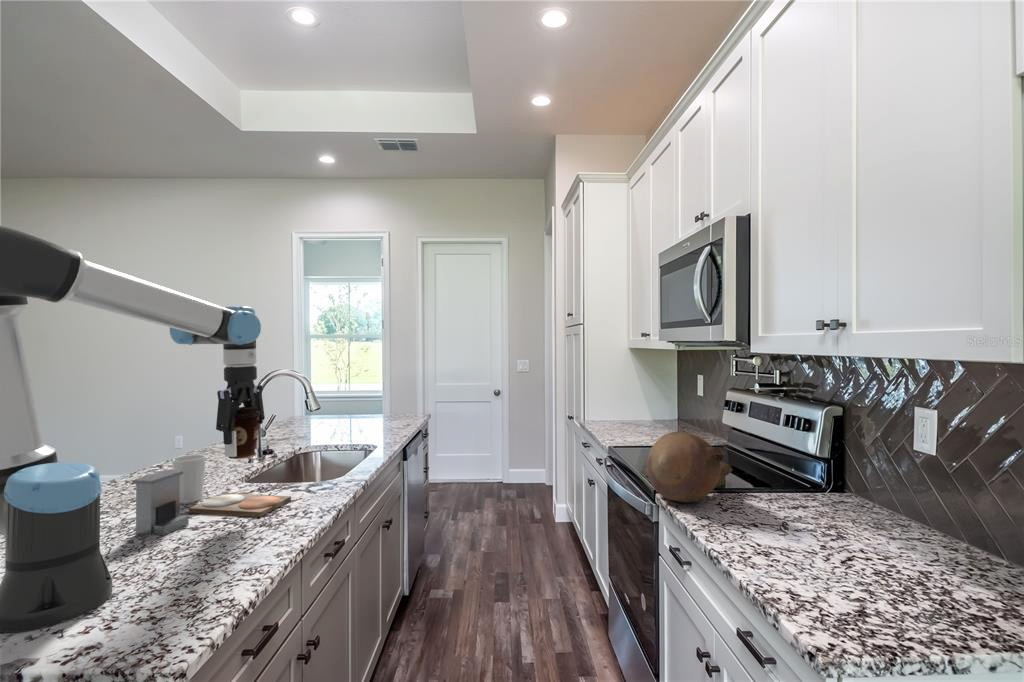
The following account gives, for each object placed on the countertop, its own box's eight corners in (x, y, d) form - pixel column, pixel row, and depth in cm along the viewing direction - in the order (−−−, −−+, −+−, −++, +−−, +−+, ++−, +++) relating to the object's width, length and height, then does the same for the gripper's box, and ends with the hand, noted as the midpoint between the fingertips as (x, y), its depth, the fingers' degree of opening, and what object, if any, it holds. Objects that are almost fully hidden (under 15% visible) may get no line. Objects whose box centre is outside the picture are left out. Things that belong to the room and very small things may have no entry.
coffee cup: (243, 461, 120) (242, 410, 120) (215, 460, 122) (214, 409, 122) (267, 453, 129) (266, 405, 129) (241, 452, 131) (240, 404, 130)
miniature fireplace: (160, 536, 111) (160, 481, 111) (132, 534, 112) (132, 480, 112) (191, 522, 120) (191, 471, 120) (165, 520, 121) (165, 470, 121)
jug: (679, 517, 123) (743, 514, 139) (700, 445, 122) (763, 450, 138) (623, 482, 140) (687, 483, 156) (641, 418, 139) (704, 426, 155)
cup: (211, 498, 138) (211, 456, 138) (180, 506, 132) (180, 462, 132) (197, 493, 143) (197, 453, 143) (167, 501, 136) (167, 458, 136)
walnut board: (260, 516, 123) (260, 511, 123) (188, 512, 126) (188, 507, 126) (291, 500, 136) (291, 495, 136) (224, 497, 139) (224, 491, 139)
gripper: (224, 368, 114) (226, 463, 115) (278, 363, 135) (280, 443, 135) (196, 368, 116) (198, 462, 116) (254, 363, 136) (256, 443, 136)
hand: (242, 452), depth 126 cm, fingers closed on coffee cup, 8 cm apart
